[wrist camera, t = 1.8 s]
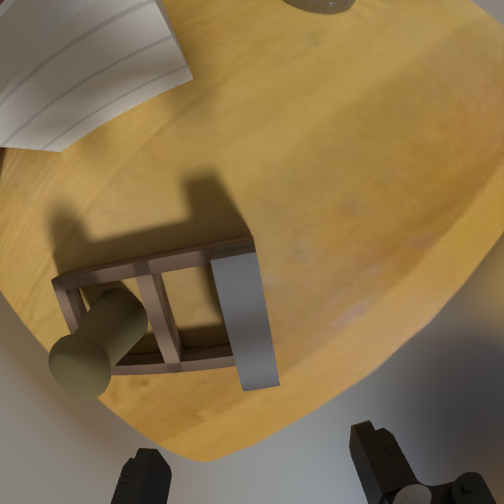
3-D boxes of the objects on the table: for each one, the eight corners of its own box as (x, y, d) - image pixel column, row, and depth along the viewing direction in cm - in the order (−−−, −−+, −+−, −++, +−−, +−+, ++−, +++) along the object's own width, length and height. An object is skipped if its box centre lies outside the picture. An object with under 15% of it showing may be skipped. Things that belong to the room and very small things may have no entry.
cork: (87, 315, 26) (31, 371, 15) (112, 276, 25) (49, 328, 14) (130, 351, 27) (89, 421, 16) (159, 316, 26) (119, 388, 15)
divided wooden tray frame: (62, 273, 24) (28, 293, 18) (252, 235, 24) (255, 252, 18) (98, 364, 27) (76, 396, 21) (272, 347, 27) (279, 385, 21)
